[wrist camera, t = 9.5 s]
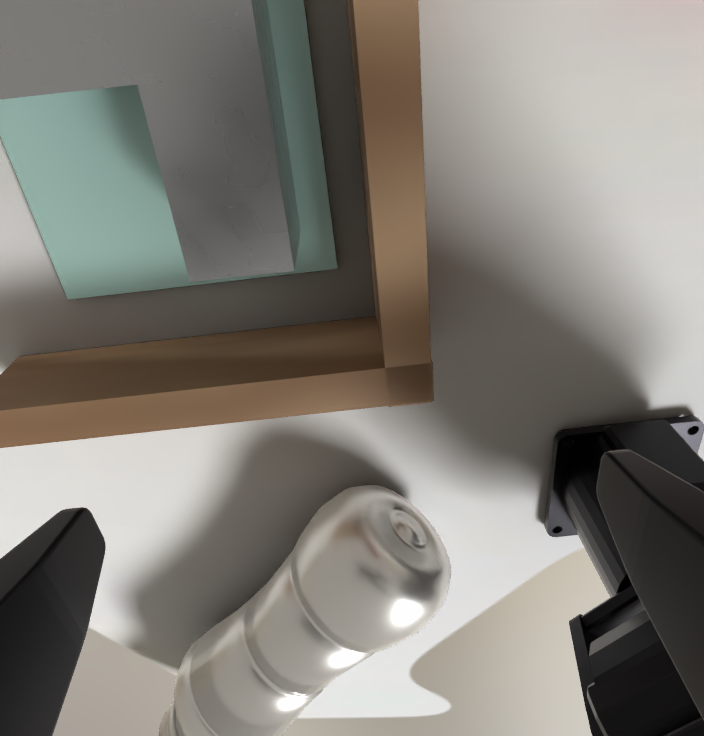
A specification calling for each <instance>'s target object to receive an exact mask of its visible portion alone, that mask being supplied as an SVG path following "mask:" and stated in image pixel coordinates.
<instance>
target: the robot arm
mask: <svg viewBox="0 0 704 736" xmlns="http://www.w3.org/2000/svg"><path fill="white" fill-rule="evenodd" d="M690 427H691V428H690ZM689 428H690V429H689ZM703 433H704V424H703V423H702V422H701V421H700V420H699V419H698V418H697V417H695V416H686V417H677V418H667V419H658V420H649V421H639V422H630V423H621V424H611V425H602V426H593V427H583V428H574V429H566V430H562V431H560V432H559V433H557V435H556V436H555V438H554V445H553V454H552V463H551V472H550V481H549V490H548V499H547V508H546V517H545V529H546V531H547V533H548V534H549V535H550V536H552V537H561V536H570V535H579V537H580V539H581V541H582V543H583V545H584V547H585V549H586V551H587V553H588V555H589V557H590V559H591V560H592V562H593V564H594V566H595V568H596V570H597V572H598V574H599V576H600V578H601V580H602V582H603V584H604V586H605V587H606V589H607V591H608V593H609V595H610V597H611V598H609V599H608V600H606V601H605V602H603V603H601V604H600V605H598V606H597V607H595V608H593V609H592V610H590V611H589V612H588V613H586V614H584V615H581V614H580V615H578V616H576V617H575V618H573V619H572V620H570V621H569V625H570V630H571V635H572V640H573V645H574V651H575V656H576V661H577V666H578V671H579V676H580V681H581V687H582V692H583V697H584V702H585V707H586V711H587V715H588V720H589V724H590V729H591V733H592V735H593V736H704V461H703V459H702V458H701V457H700V456H699V455H698V454H697V453H698V450H699V446H700V443H701V440H702V436H703ZM568 439H570V440H569V441H568V442H565V443H564V441H566V440H568ZM104 555H105V541H104V537H103V535H102V533H101V531H100V529H99V527H98V525H97V523H96V521H95V519H94V517H93V515H92V513H91V512H90V511H89V510H88V509H87V508H83V507H82V508H72V509H65V510H62V511H60V512H59V513H57V514H56V515H55V516H53V517H52V518H51V519H50V520H48V521H47V522H46V523H45V524H43V525H42V526H41V527H40V528H38V529H37V530H36V531H35V532H33V533H32V534H31V535H30V536H28V537H27V538H26V539H25V540H23V541H22V542H21V543H20V544H18V545H17V546H16V547H15V548H13V549H12V550H11V551H10V552H8V553H7V554H6V555H5V556H3V557H2V558H1V559H0V736H52V735H53V732H54V729H55V726H56V723H57V720H58V717H59V714H60V711H61V708H62V705H63V702H64V699H65V696H66V694H67V691H68V688H69V685H70V682H71V679H72V676H73V673H74V670H75V667H76V664H77V661H78V658H79V655H80V652H81V649H82V646H83V643H84V640H85V636H86V632H87V629H88V625H89V621H90V616H91V612H92V608H93V603H94V599H95V594H96V590H97V586H98V581H99V577H100V572H101V568H102V564H103V559H104Z"/></svg>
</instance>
